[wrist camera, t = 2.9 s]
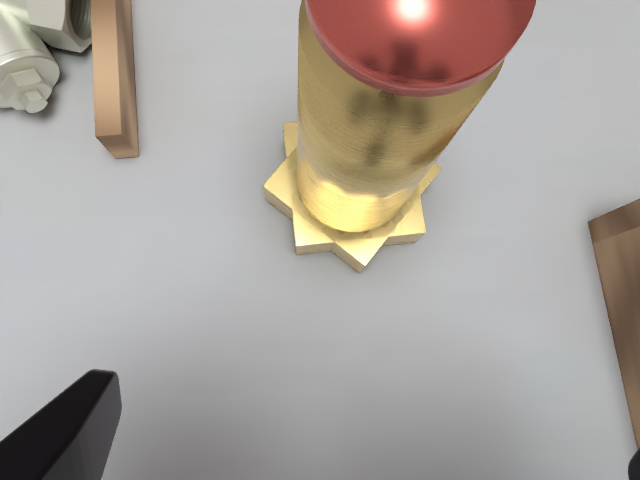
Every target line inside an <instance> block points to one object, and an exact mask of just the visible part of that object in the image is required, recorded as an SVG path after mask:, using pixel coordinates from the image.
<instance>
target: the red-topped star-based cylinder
mask: <svg viewBox="0 0 640 480" xmlns="http://www.w3.org/2000/svg"><path fill="white" fill-rule="evenodd" d="M535 4H536V0H302V2H301V6H300V13H299V37H298V113H297V122H289V123H283V133H284V147H285V156H286V159H285V161H284V162H283V163H282V164H281V165H280V166H279V168H278V169H277V170H276V171H275V172H274V173H273V175H272V176H271V177H270V178H269V179H268V180H267V181H266V183H265V184H264V185H263V189H264V194H265V199H266V200H267V201H268V202H269V203H271V204H272V205H273V206H274V207H276V208H277V209H278V210H280V211H281V212H282V213H283V214H285V215H286V216H287V217H288V218H290V219H291V220H292V221H293V229H294V239H295V248H296V255H301V254H310V253H319V252H329V251H332V252H333V253H334V254H336V255H337V256H338V257H339V258H341V259H342V260H343V261H344V262H346V263H347V264H348V265H350V266H351V267H352V268H353V269H355V270H356V271H357V272H358V273H360V272H361V270H362V269H363V268H364V267H365V265H366V264H367V263H368V262H369V260H370V259H371V258H372V257H373V255H374V254H375V253H376V251H377V250H378V249H379V248H380V246H385V245H395V244H404V243H414V242H416V241H417V240H418V239H419V238H420V237H421V236H422V235H424V234H425V233H426V231H425V225H424V218H423V212H422V206H421V199H420V195H421V194H422V193H423V192H424V190H425V189H426V188H427V186H428V185H429V184H430V183H431V181H432V180H433V179H434V178H435V176H436V175H437V174H438V172H439V171H440V170H441V169H442V168H441V167H439V166H438V165H437V164H435V163H434V162H435V161H436V160H437V158H438V157H439V156H440V154H441V153H442V152H443V150H444V149H445V147H446V146H447V145H448V143H449V142H450V141H451V139H452V138H453V137H454V135H455V134H456V133H457V131H458V130H459V128H460V127H461V126H462V124H463V123H464V122H465V120H466V119H467V118H468V116H469V115H470V114H471V112H472V111H473V109H474V108H475V107H476V105H477V104H478V103H479V101H480V100H481V99H482V97H483V96H484V95H485V93H486V92H487V90H488V89H489V88H490V86H491V85H492V83H493V82H494V80H495V79H496V78H497V76H498V74H499V72H500V70H501V68H502V65H503V62H504V59H505V57H506V56H507V55H508V53H509V52H510V50H511V49H512V48H513V46H514V45H515V43H516V42H517V41H518V39H519V38H520V36H521V35H522V33H523V32H524V30H525V29H526V27H527V25H528V23H529V21H530V19H531V17H532V14H533V10H534V7H535Z"/></svg>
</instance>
